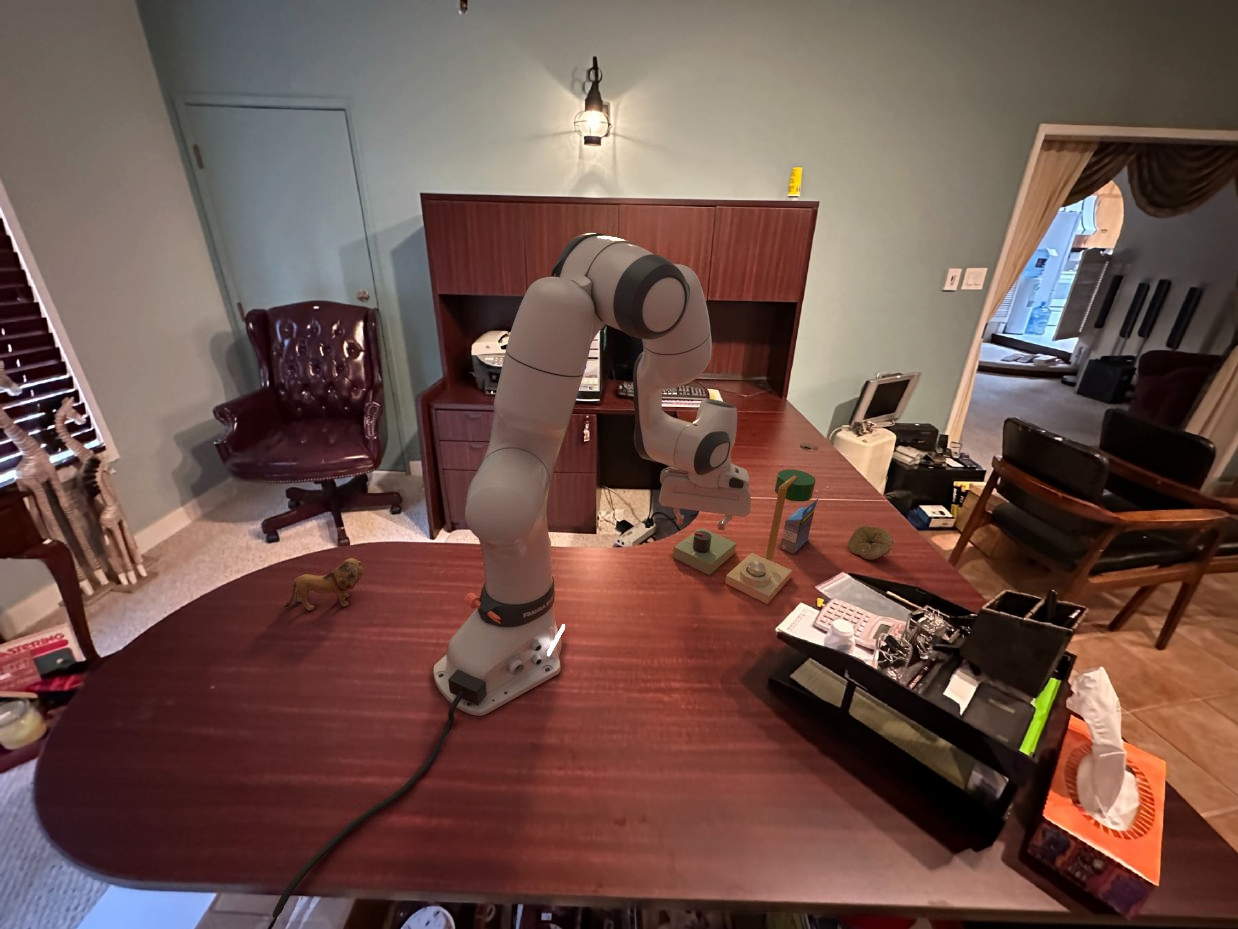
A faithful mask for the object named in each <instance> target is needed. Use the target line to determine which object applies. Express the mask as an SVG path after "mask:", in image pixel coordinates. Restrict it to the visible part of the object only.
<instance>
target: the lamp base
mask: <svg viewBox="0 0 1238 929" xmlns="http://www.w3.org/2000/svg"><path fill="white" fill-rule="evenodd" d="M751 561H758V562H761V563H763V564H764V565H765V573H764V576H763V577H754V576H752V575H750V574H748V572H747V569H748V564H749V562H751ZM792 573H793V570H792V569H790V568H788V567H786V566H783V565H781V564H779V563H776V562H774V561H772V560H767V559H766V558H765V557H762V556H760V555H758V554H756V553H754V552H751V553H749V554H748V555H747V556H746V557H745V558H744V559H742V560H741V561H740V562H739V563H738V564H737V565H736V566H735V567H734V568H733V569H731V570H730V571H729V572H728V573H727V574H726V576H725V581H724V584H726V585H727V586H729V587H732V588H733V589H736V590H737V591H740V592H742V593H744V594H746V595H748V596H750V597H752V598H754V599H756V600H758V601H760V602H763V603H764V604H766V605H768V604H769V603H770V602H771V601H772V599H773V598H774V597H775V596H776V595H777V594H778V593H779V592H780V590H781V589H782V588H783V587H784V586H785V585H786V584H787V583H788V581H789V580H790V579H791V577H792Z"/></svg>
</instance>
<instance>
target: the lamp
mask: <svg viewBox="0 0 1238 929" xmlns="http://www.w3.org/2000/svg"><path fill="white" fill-rule="evenodd" d="M775 481H776V482H775V485H774V492H775V494H776V495H777V497H776V501H775V507H774V512H773V517H772V521H771V527H770V533H769V535H768V536H769V537H768V542H767V546H766V553H765V557H764V558H765V559H767V560H770V561H772V560H773V559H774V554H775V550H776V545H777V540H778V534H779V530H780V527H781V526H780V525H781V521H782V515H783V511H784V506H785V502H786V500H787V501H789V502H791V503H794V502H801V503H802V502H808V501H810V500H811V499H813V494H814V490H815V486H816V478H815V476H813V475H812V474H810V473H808V472H806V471H804V470H798V469H790V468H789V469H782V470H779V471H778V472H777V476H776V480H775Z"/></svg>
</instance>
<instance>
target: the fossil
mask: <svg viewBox="0 0 1238 929" xmlns="http://www.w3.org/2000/svg"><path fill="white" fill-rule="evenodd" d="M893 544H894V539H893V538H892V535H891V533H890V532H889V531H888V530H887V529H885V528H883V527H880V526H871V525H867V524H866V525H861V526H858V527H857V528H855V529H854V531H853V532H852V534H851V536H850V538H849V540H848V541H847V548H848V550H849V551H850V552H851V553H852V554H855V555H857V556H860V557H861V558H863V559H866V560H877V559H880V558H882V557H884V556H886V555H887V554H888V553H890V552H891V549H892V546H893Z"/></svg>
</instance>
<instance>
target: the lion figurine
mask: <svg viewBox="0 0 1238 929" xmlns="http://www.w3.org/2000/svg"><path fill="white" fill-rule="evenodd" d="M363 575H364V568H363V566H362V563H361V561H360V560H358V559H356V558H354V557H349V558H346V559H345V560H343V562H341V564H340V565H339V566H338V567H336V568H335V569H333V570H331V571H330V572H329V573H328V574H325V575H315V574H311V573H310V574H309V573H305V574H301V575H300V576H298V577H296V578H294V580H293V582H292V584H291V593H290V598H289V601H288V602H286V604H284V606H283V608H288V607H290V606H291V605H292V603H293V601H294V599H295V600H296V602H298V603H302V605H303V607H305V609H306V610H307V611H308V612H309V611H310V612H311V611H313V610H314V609H315V606H314V605H313V604H310V603H308V602H309V601H308V598H309V594H310V591H313V592H316V593H318V594H332V593H334V594H335V595H336V597H337V599H338V602H339V604H340V605H341V607H343V608H346V607H348V606H349V604H350V603H349V601H346V599H347V598H349V596H350V595H349V593H345V592H347V591H350V590H353V589H354V588H355V586H356V584H358V582H359V581H360V580H361V579H362V578H363Z"/></svg>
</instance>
